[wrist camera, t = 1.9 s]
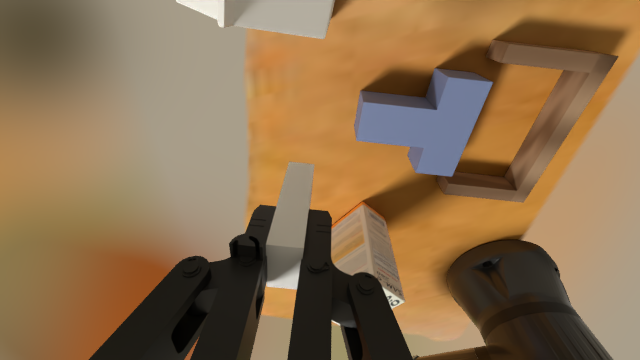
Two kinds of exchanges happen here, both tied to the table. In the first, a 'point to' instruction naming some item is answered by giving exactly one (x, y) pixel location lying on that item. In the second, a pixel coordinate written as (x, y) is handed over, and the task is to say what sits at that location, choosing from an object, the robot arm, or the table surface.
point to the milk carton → (270, 14)
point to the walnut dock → (550, 125)
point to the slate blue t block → (426, 119)
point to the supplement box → (366, 249)
